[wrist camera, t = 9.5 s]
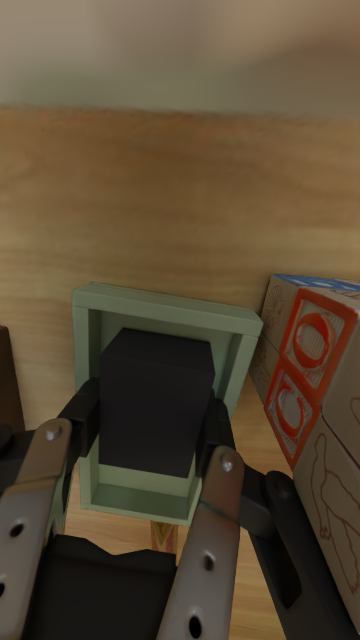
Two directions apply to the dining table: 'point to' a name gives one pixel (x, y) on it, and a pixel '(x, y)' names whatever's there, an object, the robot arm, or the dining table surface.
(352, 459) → the stack of blocks
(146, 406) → the pad
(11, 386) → the stand
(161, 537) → the chocolate bar
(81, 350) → the tray
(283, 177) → the dining table surface
